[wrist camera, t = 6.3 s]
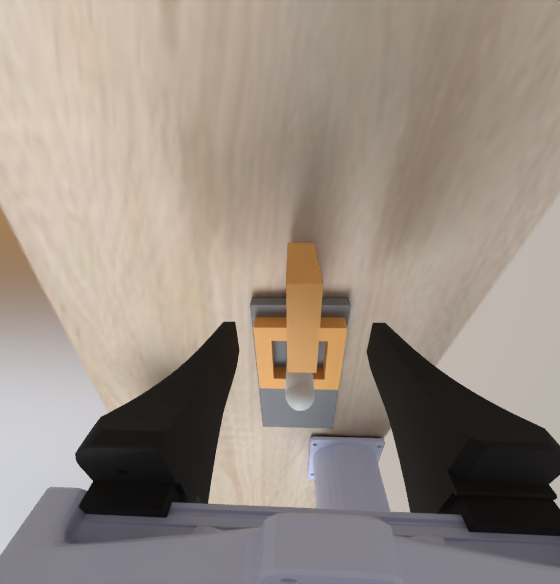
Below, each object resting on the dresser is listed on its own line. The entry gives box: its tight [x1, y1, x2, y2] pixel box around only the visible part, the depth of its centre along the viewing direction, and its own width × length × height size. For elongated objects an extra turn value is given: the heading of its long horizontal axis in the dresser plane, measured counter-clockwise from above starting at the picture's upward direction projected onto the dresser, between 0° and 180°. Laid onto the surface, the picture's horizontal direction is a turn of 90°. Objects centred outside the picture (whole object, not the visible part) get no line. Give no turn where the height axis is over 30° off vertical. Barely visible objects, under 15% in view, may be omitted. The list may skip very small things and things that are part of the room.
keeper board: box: [250, 298, 351, 428], centre depth 20 cm, size 15×7×6 cm, turn 1°
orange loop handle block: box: [253, 243, 348, 390], centre depth 16 cm, size 12×6×5 cm, turn 1°
